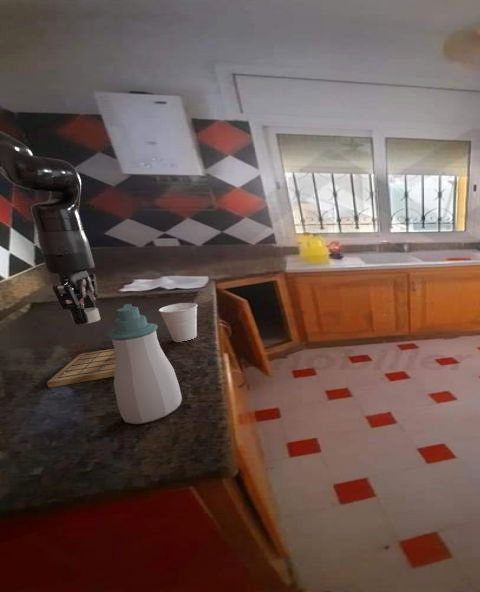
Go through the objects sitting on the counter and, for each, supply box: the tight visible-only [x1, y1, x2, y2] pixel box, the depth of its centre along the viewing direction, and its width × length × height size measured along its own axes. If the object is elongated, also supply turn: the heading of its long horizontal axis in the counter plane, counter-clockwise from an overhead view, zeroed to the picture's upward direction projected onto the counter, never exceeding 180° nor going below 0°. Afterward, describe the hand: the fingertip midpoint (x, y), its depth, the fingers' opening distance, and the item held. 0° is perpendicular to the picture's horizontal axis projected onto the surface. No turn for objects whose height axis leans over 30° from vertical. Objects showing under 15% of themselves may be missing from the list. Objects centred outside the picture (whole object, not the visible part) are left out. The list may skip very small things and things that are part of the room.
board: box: [46, 348, 116, 389], centre depth 86 cm, size 17×17×2 cm
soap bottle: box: [106, 303, 183, 425], centre depth 64 cm, size 10×10×23 cm
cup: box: [158, 302, 198, 343], centre depth 101 cm, size 10×10×11 cm
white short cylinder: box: [70, 307, 101, 325], centre depth 77 cm, size 5×5×3 cm
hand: (86, 319), depth 77 cm, fingers closed on white short cylinder, 4 cm apart
